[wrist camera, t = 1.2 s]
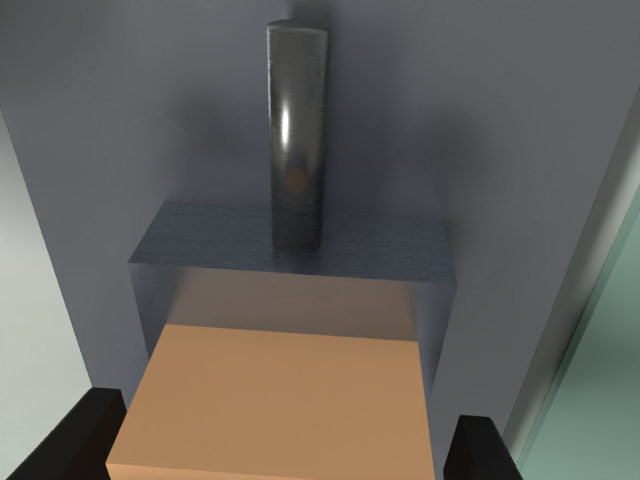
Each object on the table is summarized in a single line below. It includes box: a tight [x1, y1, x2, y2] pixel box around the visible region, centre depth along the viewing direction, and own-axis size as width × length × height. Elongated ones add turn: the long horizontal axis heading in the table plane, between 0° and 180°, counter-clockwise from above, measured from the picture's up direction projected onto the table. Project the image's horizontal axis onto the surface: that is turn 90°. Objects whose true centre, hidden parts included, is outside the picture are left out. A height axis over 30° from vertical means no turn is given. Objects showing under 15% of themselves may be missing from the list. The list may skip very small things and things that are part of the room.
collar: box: [105, 324, 435, 480], centre depth 10 cm, size 5×5×3 cm
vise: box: [0, 0, 640, 480], centre depth 12 cm, size 18×12×7 cm, turn 178°
